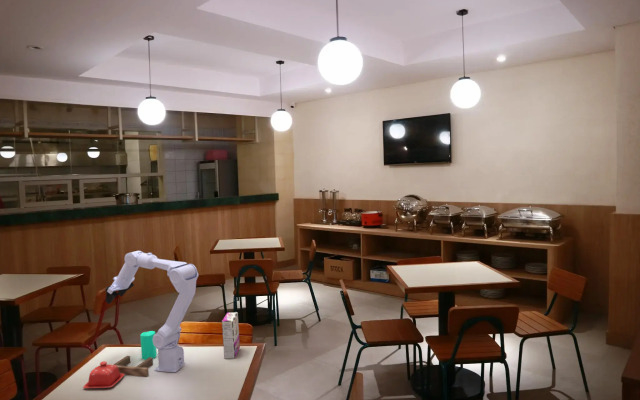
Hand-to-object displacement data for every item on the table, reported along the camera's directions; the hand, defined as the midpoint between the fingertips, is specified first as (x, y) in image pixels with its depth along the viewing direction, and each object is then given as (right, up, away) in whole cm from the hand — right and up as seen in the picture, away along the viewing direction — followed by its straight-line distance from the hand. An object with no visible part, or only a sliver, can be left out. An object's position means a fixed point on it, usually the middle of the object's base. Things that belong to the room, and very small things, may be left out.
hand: (113, 298), depth 196 cm
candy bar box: (+50, -24, +2) cm, 55 cm away
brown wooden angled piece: (+12, -26, -9) cm, 30 cm away
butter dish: (+6, -28, -22) cm, 36 cm away
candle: (+15, -26, +1) cm, 29 cm away
